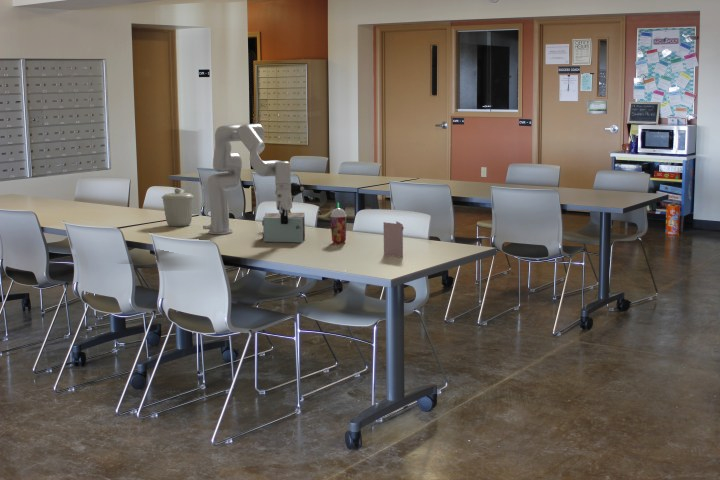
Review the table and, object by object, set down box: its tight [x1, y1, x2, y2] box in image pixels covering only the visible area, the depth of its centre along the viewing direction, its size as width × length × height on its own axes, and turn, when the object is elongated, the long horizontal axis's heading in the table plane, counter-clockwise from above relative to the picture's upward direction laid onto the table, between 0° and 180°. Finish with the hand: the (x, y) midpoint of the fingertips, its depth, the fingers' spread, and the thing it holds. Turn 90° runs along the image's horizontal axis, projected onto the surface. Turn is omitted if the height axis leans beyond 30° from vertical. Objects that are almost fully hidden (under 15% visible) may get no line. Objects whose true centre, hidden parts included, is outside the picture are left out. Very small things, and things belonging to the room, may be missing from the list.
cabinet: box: [264, 212, 306, 242], centre depth 481 cm, size 20×16×12 cm
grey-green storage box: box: [261, 217, 304, 243], centre depth 469 cm, size 21×3×12 cm, turn 78°
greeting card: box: [383, 220, 405, 258], centre depth 429 cm, size 11×7×15 cm, turn 12°
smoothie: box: [329, 202, 348, 245], centre depth 464 cm, size 8×8×20 cm
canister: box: [161, 187, 195, 228], centre depth 529 cm, size 18×18×21 cm
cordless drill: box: [274, 182, 305, 213], centre depth 512 cm, size 23×7×25 cm, turn 40°
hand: (284, 223), depth 466 cm, fingers closed
